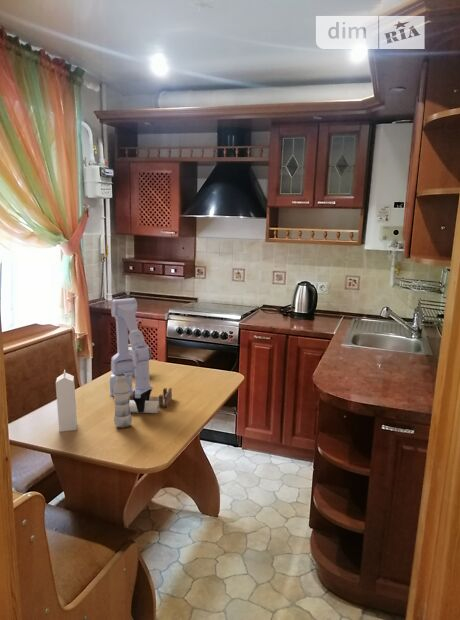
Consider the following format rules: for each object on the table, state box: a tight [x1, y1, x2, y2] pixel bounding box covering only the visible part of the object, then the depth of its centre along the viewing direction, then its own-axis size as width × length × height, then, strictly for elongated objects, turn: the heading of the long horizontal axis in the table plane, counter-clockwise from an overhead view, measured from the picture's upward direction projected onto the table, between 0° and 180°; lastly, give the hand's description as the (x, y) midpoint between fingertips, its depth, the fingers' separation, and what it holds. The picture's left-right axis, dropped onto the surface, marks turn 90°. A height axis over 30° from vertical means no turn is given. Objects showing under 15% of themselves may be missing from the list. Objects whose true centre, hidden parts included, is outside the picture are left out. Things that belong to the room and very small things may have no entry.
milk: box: [55, 369, 78, 433], centre depth 166 cm, size 6×6×22 cm
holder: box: [129, 387, 173, 409], centre depth 191 cm, size 15×10×5 cm, turn 85°
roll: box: [129, 399, 160, 414], centre depth 182 cm, size 12×5×5 cm, turn 85°
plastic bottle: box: [113, 374, 133, 429], centre depth 167 cm, size 6×7×20 cm
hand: (143, 408), depth 182 cm, fingers open, 6 cm apart
